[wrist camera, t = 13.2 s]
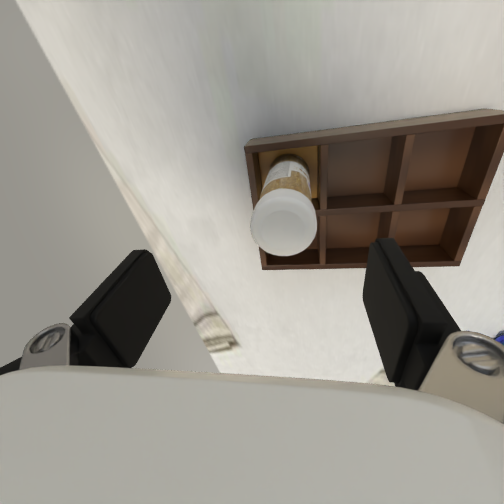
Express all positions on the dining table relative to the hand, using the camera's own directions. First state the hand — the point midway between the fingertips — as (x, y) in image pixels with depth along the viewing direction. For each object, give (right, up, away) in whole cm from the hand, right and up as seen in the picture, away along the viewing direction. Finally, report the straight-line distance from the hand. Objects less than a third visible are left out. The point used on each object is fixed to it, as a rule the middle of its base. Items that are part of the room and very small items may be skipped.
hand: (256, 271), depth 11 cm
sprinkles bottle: (+4, +10, +17) cm, 20 cm away
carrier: (+11, +7, +18) cm, 23 cm away
